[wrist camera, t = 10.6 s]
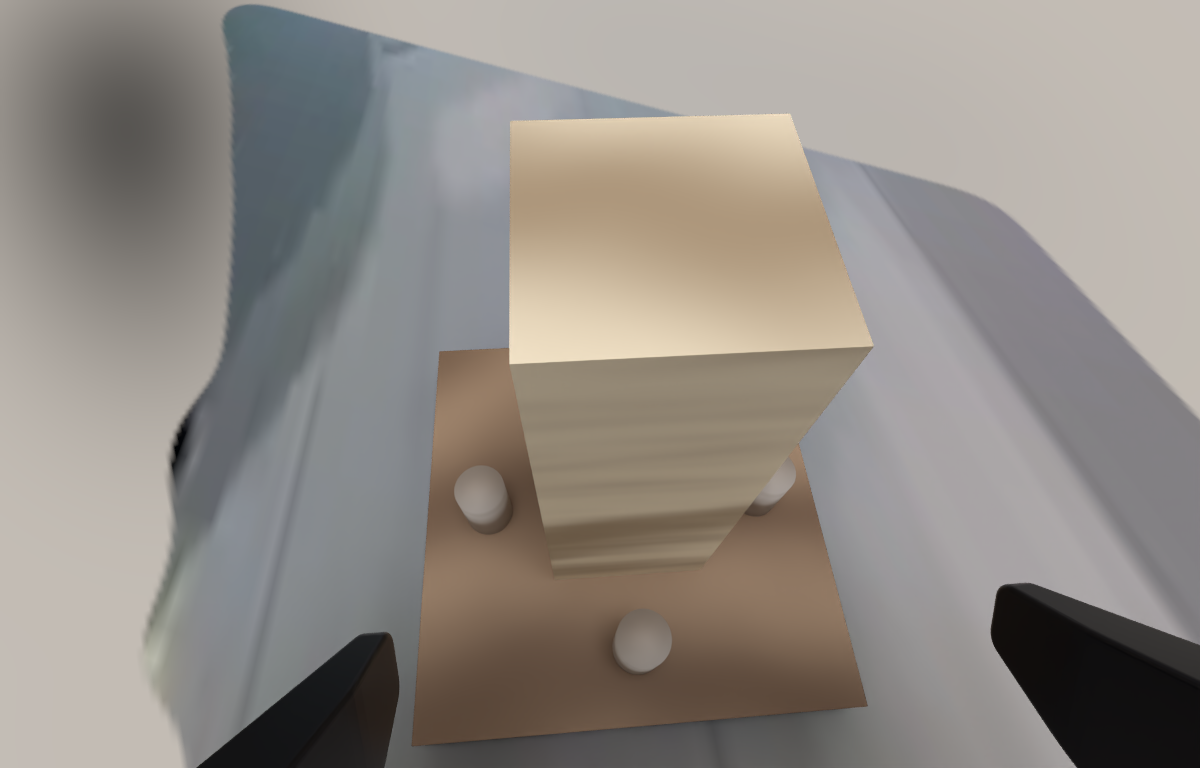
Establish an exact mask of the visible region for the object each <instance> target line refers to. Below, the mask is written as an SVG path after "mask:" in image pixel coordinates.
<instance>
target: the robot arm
mask: <svg viewBox="0 0 1200 768" xmlns="http://www.w3.org/2000/svg"><path fill="white" fill-rule="evenodd" d="M991 638H992V642H993V645H994V647H995V649H996V651H997V652H998V654H999V655H1000V657H1001V658H1002V660H1003V661H1004V663H1005V664H1006V666H1007V667H1008V669H1009V670H1010V672H1011V673H1012V675H1013V676H1014V678H1015V679H1016V681H1017V682H1018V684H1019V685H1020V687H1021V688H1022V690H1023V691H1024V693H1025V694H1026V696H1027V697H1028V699H1029V700H1030V702H1031V703H1032V705H1033V706H1034V708H1035V709H1036V711H1037V712H1038V714H1039V715H1040V717H1041V718H1042V720H1043V721H1044V723H1045V724H1046V726H1047V727H1048V729H1049V730H1050V732H1051V733H1052V734H1053V736H1054V737H1055V739H1056V740H1057V742H1058V743H1059V744H1060V746H1061V747H1062V749H1063V750H1064V751H1065V753H1066V754H1067V755H1068V757H1069V758H1070V759H1071V761H1072V762H1073V763H1074V765H1075V766H1076V767H1077V768H1200V645H1198V644H1195V643H1193V642H1190V641H1187V640H1184V639H1182V638H1179V637H1176V636H1174V635H1171V634H1168V633H1165V632H1163V631H1160V630H1157V629H1155V628H1152V627H1149V626H1146V625H1144V624H1141V623H1138V622H1136V621H1133V620H1130V619H1127V618H1125V617H1122V616H1119V615H1116V614H1114V613H1111V612H1108V611H1106V610H1103V609H1100V608H1097V607H1095V606H1092V605H1089V604H1087V603H1084V602H1081V601H1078V600H1076V599H1073V598H1070V597H1068V596H1065V595H1062V594H1059V593H1057V592H1054V591H1051V590H1049V589H1046V588H1043V587H1040V586H1038V585H1035V584H1032V583H1017V584H1005V585H1003V586H1001V587H1000V588H999V589H998V591H997V594H996V599H995V606H994V612H993V618H992V624H991ZM398 697H399V676H398V670H397V663H396V657H395V650H394V643H393V639H392V637H391V635H390V634H389V633H387V632H379V633H366V634H361V635H359V636H357V637H356V638H355V639H353V640H352V641H351V642H350V643H349V644H347V645H346V646H345V647H344V648H342V649H341V650H340V651H339V652H337V653H336V654H335V655H334V656H333V657H331V658H330V659H329V660H328V661H326V662H325V663H324V664H323V665H322V666H320V667H319V668H318V669H317V670H315V671H314V672H313V673H312V674H311V675H309V676H308V677H307V678H306V679H304V680H303V681H302V682H301V683H300V684H298V685H297V686H296V687H295V688H293V689H292V690H291V691H290V692H288V693H287V694H286V695H285V696H284V697H282V698H281V699H280V700H279V701H277V702H276V703H275V704H274V705H273V706H271V707H270V708H269V709H268V710H266V711H265V712H264V713H263V714H262V715H260V716H259V717H258V718H257V719H255V720H254V721H253V722H252V723H251V724H249V725H248V726H247V727H246V728H244V729H243V730H242V731H241V732H240V733H238V734H237V735H236V736H235V737H233V738H232V739H231V740H230V741H228V742H227V743H226V744H225V745H224V746H222V747H221V748H220V749H219V750H217V751H216V752H215V753H214V754H213V755H211V756H210V757H209V758H208V759H206V760H205V761H204V762H203V763H202V764H200V765H199V766H198V767H197V768H384V767H385V762H386V757H387V752H388V747H389V742H390V737H391V732H392V727H393V722H394V717H395V712H396V707H397V702H398Z"/></svg>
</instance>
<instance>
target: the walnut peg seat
mask: <svg viewBox="0 0 1200 768" xmlns="http://www.w3.org/2000/svg"><path fill="white" fill-rule="evenodd" d="M866 706H868V705H867V702H866V698H865V694H864V690H863V686H862V683H861V679H860V675H859V671H858V667H857V663H856V660H855V656H854V652H853V648H852V644H851V641H850V637H849V633H848V629H847V625H846V622H845V618H844V614H843V610H842V606H841V603H840V599H839V595H838V591H837V587H836V584H835V580H834V576H833V572H832V568H831V565H830V561H829V557H828V553H827V549H826V546H825V542H824V538H823V534H822V530H821V527H820V523H819V519H818V515H817V511H816V508H815V504H814V500H813V496H812V492H811V488H810V485H809V481H808V477H807V473H806V469H805V466H804V462H803V458H802V454H801V450H800V447H799V443H798V445H797V446H796V447H795V448H794V450H793V451H792V452H791V454H790V455H789V456H788V457H787V459H786V460H785V461H784V463H783V464H782V465H781V466H780V468H779V469H778V470H777V472H776V473H775V474H774V475H773V477H772V478H771V479H770V481H769V482H768V483H767V484H766V486H765V487H764V488H763V490H762V491H761V492H760V493H759V495H758V496H757V497H756V499H755V500H754V501H753V502H752V504H751V505H750V506H749V508H748V509H747V510H746V511H745V513H744V514H743V515H742V517H741V518H740V519H739V520H738V522H737V523H736V524H735V526H734V527H733V528H732V529H731V531H730V532H729V533H728V535H727V536H726V537H725V538H724V540H723V541H722V542H721V544H720V545H719V546H718V547H717V549H716V550H715V551H714V553H713V554H712V555H711V556H710V558H709V559H708V560H707V562H706V563H705V564H704V565H703V567H702V568H701V569H700V570H691V571H677V572H663V573H649V574H634V575H620V576H606V577H591V578H577V579H563V580H555V579H554V574H553V569H552V565H551V560H550V555H549V550H548V545H547V541H546V536H545V531H544V526H543V522H542V517H541V512H540V507H539V503H538V498H537V493H536V488H535V484H534V479H533V474H532V469H531V465H530V460H529V455H528V450H527V446H526V441H525V436H524V431H523V427H522V422H521V417H520V412H519V408H518V403H517V398H516V393H515V389H514V384H513V379H512V374H511V370H510V365H509V348H501V349H480V350H460V351H440V352H439V366H438V380H437V394H436V409H435V423H434V437H433V451H432V465H431V480H430V494H429V508H428V522H427V536H426V550H425V565H424V579H423V593H422V607H421V621H420V636H419V650H418V664H417V678H416V692H415V706H414V721H413V735H412V746H421V745H432V744H443V743H455V742H466V741H478V740H489V739H501V738H512V737H523V736H535V735H546V734H558V733H569V732H580V731H592V730H603V729H615V728H626V727H638V726H649V725H660V724H672V723H683V722H695V721H706V720H717V719H729V718H740V717H752V716H763V715H775V714H786V713H797V712H809V711H820V710H832V709H843V708H855V707H866Z"/></svg>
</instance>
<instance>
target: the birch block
mask: <svg viewBox="0 0 1200 768" xmlns="http://www.w3.org/2000/svg"><path fill="white" fill-rule="evenodd" d="M873 347H874V345H873V342H872V340H871V337H870V334H869V331H868V329H867V326H866V323H865V320H864V317H863V315H862V312H861V309H860V306H859V304H858V301H857V298H856V295H855V293H854V290H853V287H852V284H851V281H850V279H849V276H848V273H847V270H846V268H845V265H844V262H843V259H842V256H841V254H840V251H839V248H838V245H837V243H836V240H835V237H834V234H833V232H832V229H831V226H830V223H829V220H828V218H827V215H826V212H825V209H824V207H823V204H822V201H821V198H820V195H819V193H818V190H817V187H816V184H815V182H814V179H813V176H812V173H811V171H810V168H809V165H808V162H807V159H806V157H805V154H804V151H803V148H802V146H801V143H800V140H799V137H798V134H797V132H796V129H795V126H794V123H793V121H792V118H791V115H790V114H765V115H725V116H686V117H648V118H609V119H571V120H532V121H510V334H509V365H510V370H511V374H512V379H513V384H514V389H515V393H516V398H517V403H518V408H519V412H520V417H521V422H522V427H523V431H524V436H525V441H526V446H527V450H528V455H529V460H530V465H531V469H532V474H533V479H534V484H535V488H536V493H537V498H538V503H539V507H540V512H541V517H542V522H543V526H544V531H545V536H546V541H547V545H548V550H549V555H550V560H551V565H552V569H553V574H554V579H555V580H563V579H577V578H591V577H606V576H620V575H634V574H649V573H663V572H677V571H691V570H700V569H701V568H702V567H703V565H704V564H705V563H706V562H707V560H708V559H709V558H710V556H711V555H712V554H713V553H714V551H715V550H716V549H717V547H718V546H719V545H720V544H721V542H722V541H723V540H724V538H725V537H726V536H727V535H728V533H729V532H730V531H731V529H732V528H733V527H734V526H735V524H736V523H737V522H738V520H739V519H740V518H741V517H742V515H743V514H744V513H745V511H746V510H747V509H748V508H749V506H750V505H751V504H752V502H753V501H754V500H755V499H756V497H757V496H758V495H759V493H760V492H761V491H762V490H763V488H764V487H765V486H766V484H767V483H768V482H769V481H770V479H771V478H772V477H773V475H774V474H775V473H776V472H777V470H778V469H779V468H780V466H781V465H782V464H783V463H784V461H785V460H786V459H787V457H788V456H789V455H790V454H791V452H792V451H793V450H794V448H795V447H796V446H797V445H798V443H799V442H800V441H801V439H802V438H803V437H804V436H805V434H806V433H807V432H808V430H809V429H810V428H811V427H812V425H813V424H814V423H815V421H816V420H817V419H818V418H819V416H820V415H821V414H822V412H823V411H824V410H825V409H826V407H827V406H828V405H829V403H830V402H831V401H832V400H833V398H834V397H835V396H836V394H837V393H838V392H839V391H840V389H841V388H842V387H843V385H844V384H845V383H846V382H847V380H848V379H849V378H850V376H851V375H852V374H853V373H854V371H855V370H856V369H857V367H858V366H859V365H860V364H861V362H862V361H863V360H864V358H865V357H866V356H867V355H868V353H869V352H870V351H871V349H872V348H873Z"/></svg>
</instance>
